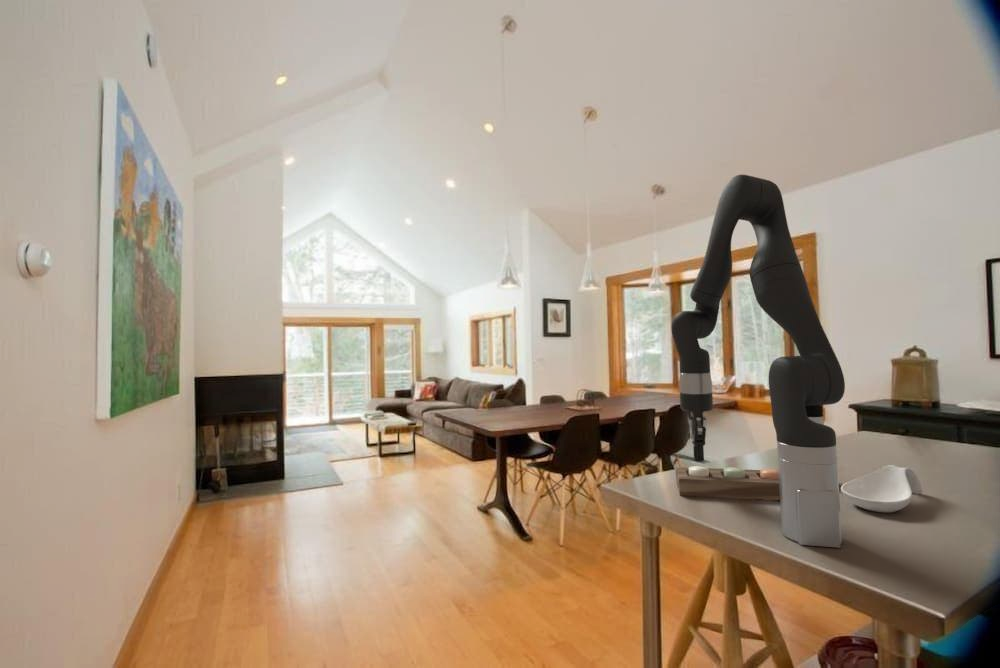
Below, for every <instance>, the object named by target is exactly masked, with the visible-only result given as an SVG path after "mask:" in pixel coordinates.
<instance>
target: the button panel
mask: <svg viewBox="0 0 1000 668" xmlns="http://www.w3.org/2000/svg"><path fill="white" fill-rule="evenodd" d="M707 468H708V469H709V477H698V476H689V467H686V466H685V467H680V466H676V467H675V480H676V481H675V482H676V485H677V486H676V487H677V490H678V494H679V496H680V497H681V496H682V497H700V498H701V497H702V498H717V499H719V498H720V499H737V500H738V499H740V500H754V499H763V500H762V501H773V500H780V491H779V480H772V479H761V477H760V470H761V469H744V470H745V478H724V468H712V467H710V468H709V467H707Z"/></svg>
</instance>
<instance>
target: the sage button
mask: <svg viewBox="0 0 1000 668" xmlns="http://www.w3.org/2000/svg"><path fill="white" fill-rule="evenodd" d="M723 469H724V478H745V470H746V469H743V468H741V467H740V468H739V467H731V466H730V467H724V468H723Z"/></svg>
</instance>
